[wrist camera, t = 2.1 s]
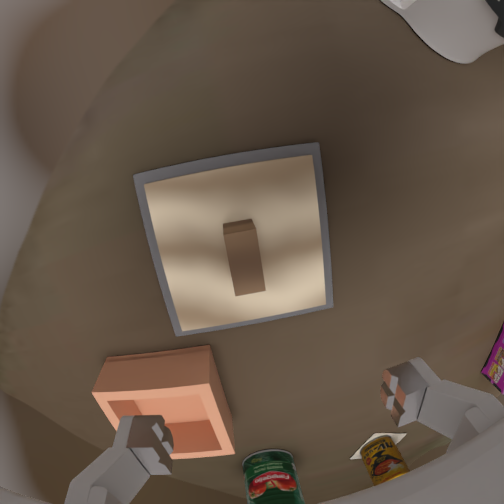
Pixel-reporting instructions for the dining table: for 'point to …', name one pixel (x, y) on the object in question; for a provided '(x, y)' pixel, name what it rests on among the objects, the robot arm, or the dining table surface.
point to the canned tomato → (271, 478)
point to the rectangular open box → (171, 397)
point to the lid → (240, 241)
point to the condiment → (382, 457)
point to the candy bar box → (496, 363)
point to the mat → (227, 162)
